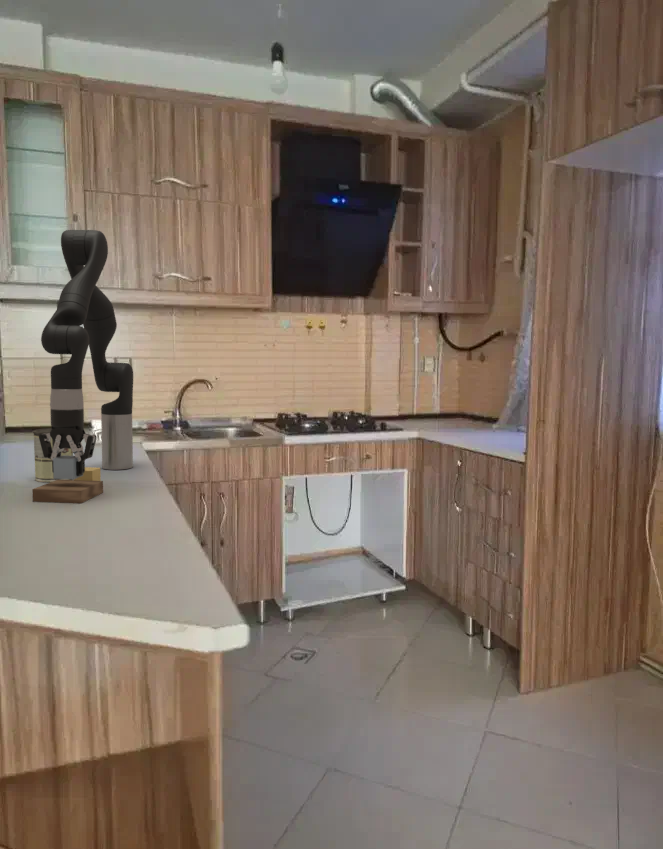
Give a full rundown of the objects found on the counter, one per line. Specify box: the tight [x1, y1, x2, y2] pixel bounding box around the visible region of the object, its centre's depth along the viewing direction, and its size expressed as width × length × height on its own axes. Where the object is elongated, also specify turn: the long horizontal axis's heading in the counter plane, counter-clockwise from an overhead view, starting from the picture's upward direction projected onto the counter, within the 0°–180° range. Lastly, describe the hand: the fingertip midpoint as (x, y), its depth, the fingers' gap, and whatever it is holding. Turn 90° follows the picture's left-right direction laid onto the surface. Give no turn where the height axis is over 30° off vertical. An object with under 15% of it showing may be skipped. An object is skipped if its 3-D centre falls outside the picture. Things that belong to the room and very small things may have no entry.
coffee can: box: [32, 427, 74, 483], centre depth 172 cm, size 10×10×14 cm
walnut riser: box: [31, 479, 104, 504], centre depth 150 cm, size 12×12×3 cm
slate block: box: [53, 455, 83, 480], centre depth 150 cm, size 5×5×5 cm
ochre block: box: [73, 466, 102, 481], centre depth 162 cm, size 5×5×5 cm
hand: (68, 475), depth 150 cm, fingers closed on slate block, 5 cm apart
